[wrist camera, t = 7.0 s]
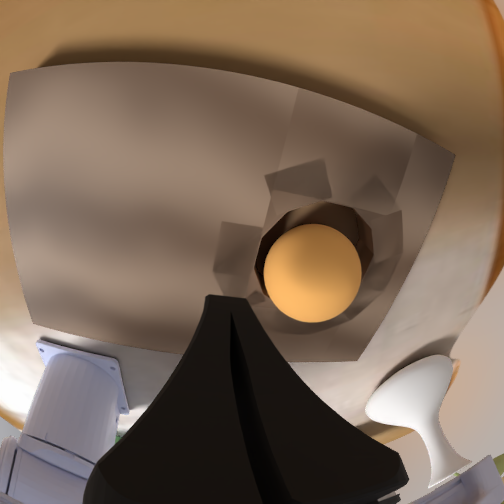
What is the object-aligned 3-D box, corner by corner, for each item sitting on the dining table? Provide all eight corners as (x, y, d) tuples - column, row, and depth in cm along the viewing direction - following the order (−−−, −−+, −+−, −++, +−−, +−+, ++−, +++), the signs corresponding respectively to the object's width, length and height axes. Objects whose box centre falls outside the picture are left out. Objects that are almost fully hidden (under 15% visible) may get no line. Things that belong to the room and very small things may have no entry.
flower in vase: (379, 413, 31) (431, 562, 9) (344, 393, 26) (407, 596, 4) (459, 357, 27) (534, 500, 6) (448, 319, 22) (556, 514, 1)
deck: (348, 342, 21) (357, 360, 20) (43, 305, 17) (33, 323, 15) (434, 147, 14) (455, 155, 12) (30, 73, 9) (10, 73, 7)
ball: (295, 355, 14) (240, 286, 16) (356, 308, 16) (303, 253, 19) (328, 308, 10) (250, 223, 12) (395, 255, 12) (326, 193, 15)
